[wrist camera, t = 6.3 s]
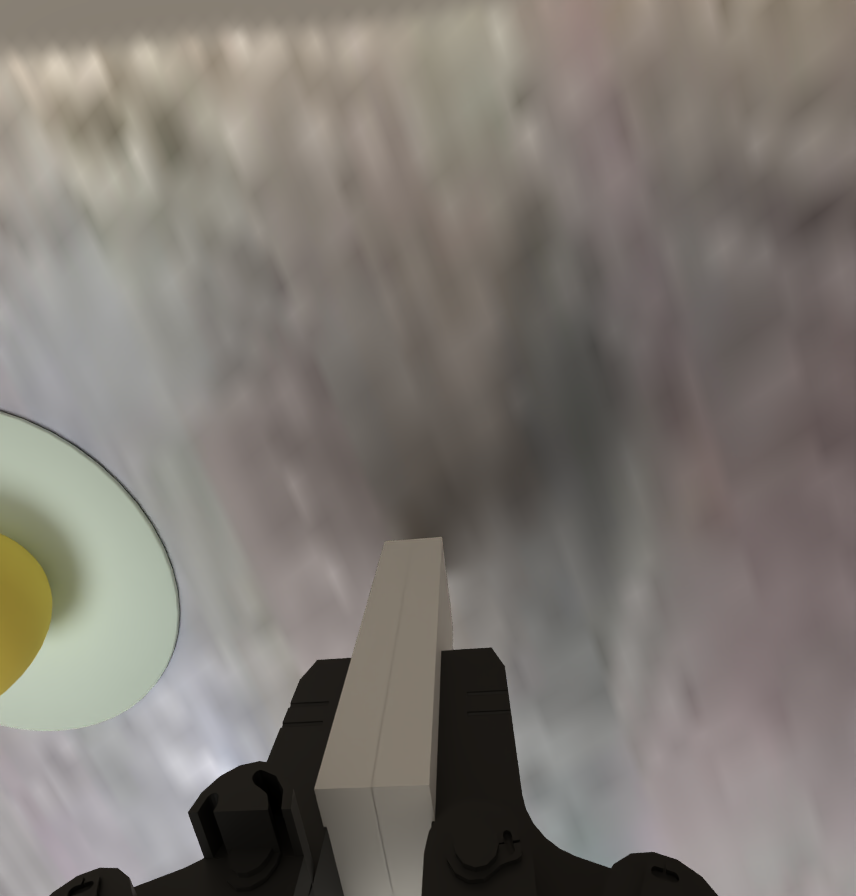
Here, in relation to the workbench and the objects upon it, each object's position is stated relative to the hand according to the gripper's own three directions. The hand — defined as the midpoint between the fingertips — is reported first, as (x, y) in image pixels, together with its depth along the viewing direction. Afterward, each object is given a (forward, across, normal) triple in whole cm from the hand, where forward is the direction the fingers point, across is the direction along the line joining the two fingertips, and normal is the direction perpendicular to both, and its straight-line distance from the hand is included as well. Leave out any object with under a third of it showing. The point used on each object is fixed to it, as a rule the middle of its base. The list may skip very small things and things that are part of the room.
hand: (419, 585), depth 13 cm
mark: (+2, +14, 0) cm, 14 cm away
